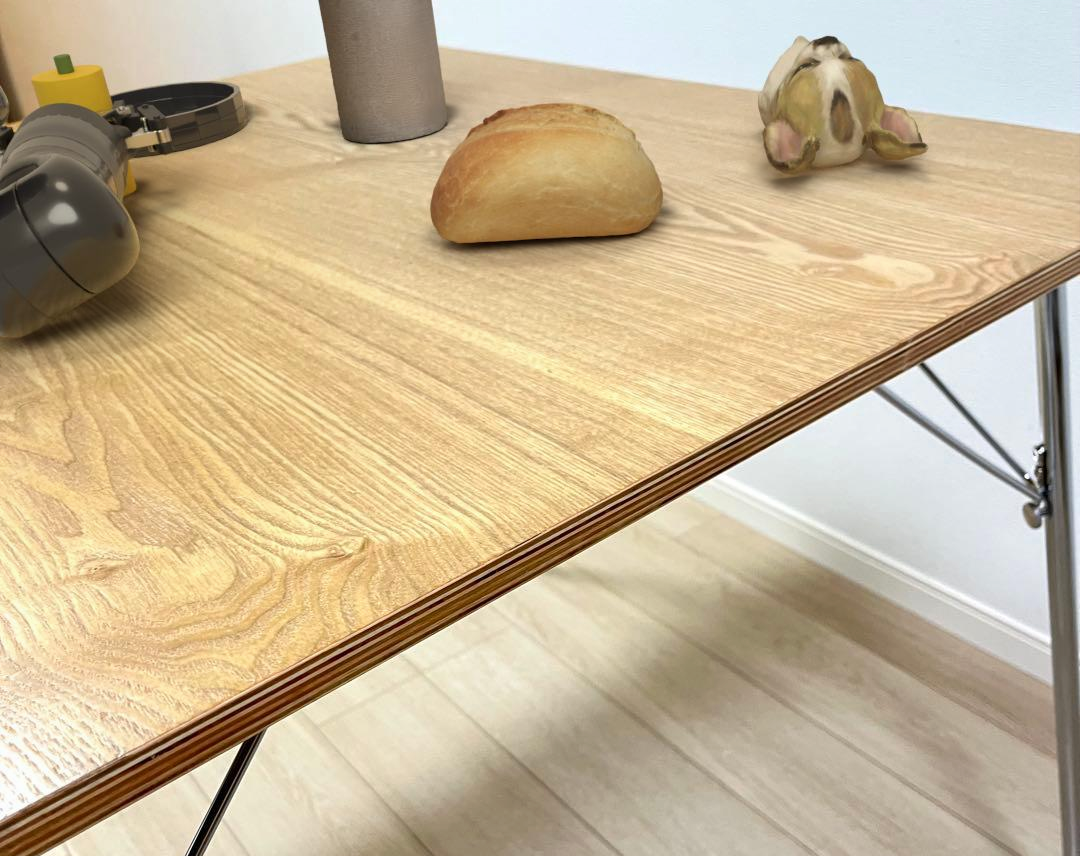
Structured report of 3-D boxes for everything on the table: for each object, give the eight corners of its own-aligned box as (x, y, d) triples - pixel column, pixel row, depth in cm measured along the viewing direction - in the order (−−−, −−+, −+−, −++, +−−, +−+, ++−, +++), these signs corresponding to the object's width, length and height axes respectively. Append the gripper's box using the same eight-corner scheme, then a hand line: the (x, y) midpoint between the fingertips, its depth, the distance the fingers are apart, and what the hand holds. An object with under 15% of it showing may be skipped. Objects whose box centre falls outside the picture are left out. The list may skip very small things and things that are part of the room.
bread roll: (438, 224, 79) (420, 104, 75) (653, 200, 79) (648, 79, 75) (433, 273, 71) (413, 142, 67) (672, 247, 71) (668, 114, 67)
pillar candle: (321, 135, 104) (285, -49, 95) (407, 110, 109) (380, -67, 100) (384, 150, 97) (351, -46, 89) (472, 122, 102) (448, -66, 94)
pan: (69, 168, 102) (58, 134, 101) (83, 128, 116) (74, 97, 114) (250, 139, 105) (242, 105, 103) (244, 103, 118) (237, 73, 117)
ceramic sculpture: (871, 3, 84) (947, 55, 72) (863, 123, 89) (933, 190, 77) (728, 22, 84) (780, 77, 72) (728, 140, 89) (777, 211, 77)
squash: (70, 218, 89) (21, 66, 83) (76, 200, 93) (29, 55, 87) (138, 207, 90) (94, 56, 84) (140, 189, 94) (99, 44, 88)
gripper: (159, 99, 76) (164, 55, 90) (-68, 134, 73) (-27, 84, 87) (189, 211, 80) (189, 152, 94) (-25, 247, 78) (8, 182, 91)
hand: (85, 119), depth 90 cm, fingers closed on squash, 5 cm apart
